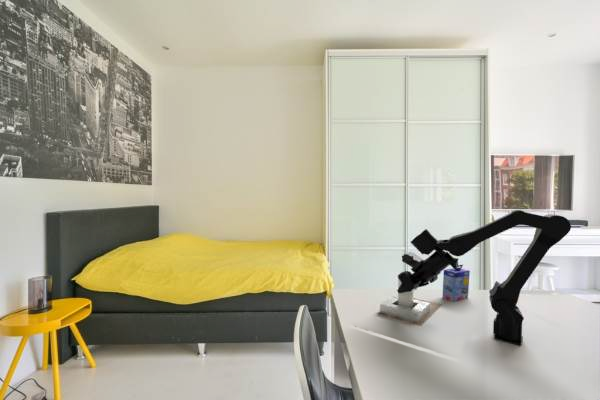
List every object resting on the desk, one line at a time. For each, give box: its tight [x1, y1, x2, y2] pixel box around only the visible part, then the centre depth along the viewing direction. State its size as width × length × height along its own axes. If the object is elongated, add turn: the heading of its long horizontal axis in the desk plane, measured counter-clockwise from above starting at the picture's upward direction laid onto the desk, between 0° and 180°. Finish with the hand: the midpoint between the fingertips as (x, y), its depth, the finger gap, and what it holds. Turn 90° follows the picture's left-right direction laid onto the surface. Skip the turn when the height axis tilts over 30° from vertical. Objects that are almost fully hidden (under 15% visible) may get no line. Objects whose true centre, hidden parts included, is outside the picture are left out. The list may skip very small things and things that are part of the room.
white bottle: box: [397, 277, 414, 309], centre depth 108 cm, size 5×5×13 cm
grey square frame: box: [379, 294, 430, 323], centre depth 108 cm, size 13×13×3 cm
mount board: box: [376, 297, 443, 327], centre depth 111 cm, size 15×25×1 cm, turn 141°
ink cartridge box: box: [441, 264, 471, 302], centre depth 124 cm, size 10×6×14 cm, turn 120°
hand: (402, 290), depth 109 cm, fingers open, 5 cm apart
